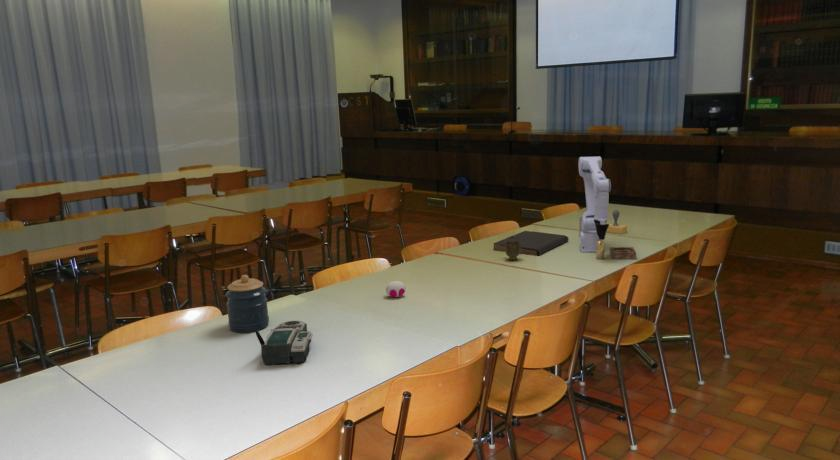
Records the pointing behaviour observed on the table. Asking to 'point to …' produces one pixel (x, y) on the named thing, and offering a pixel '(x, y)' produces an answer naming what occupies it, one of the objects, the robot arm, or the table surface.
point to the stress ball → (395, 289)
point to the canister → (247, 305)
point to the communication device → (286, 343)
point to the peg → (600, 249)
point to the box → (622, 253)
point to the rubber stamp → (616, 225)
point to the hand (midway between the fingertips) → (600, 237)
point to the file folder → (533, 242)
